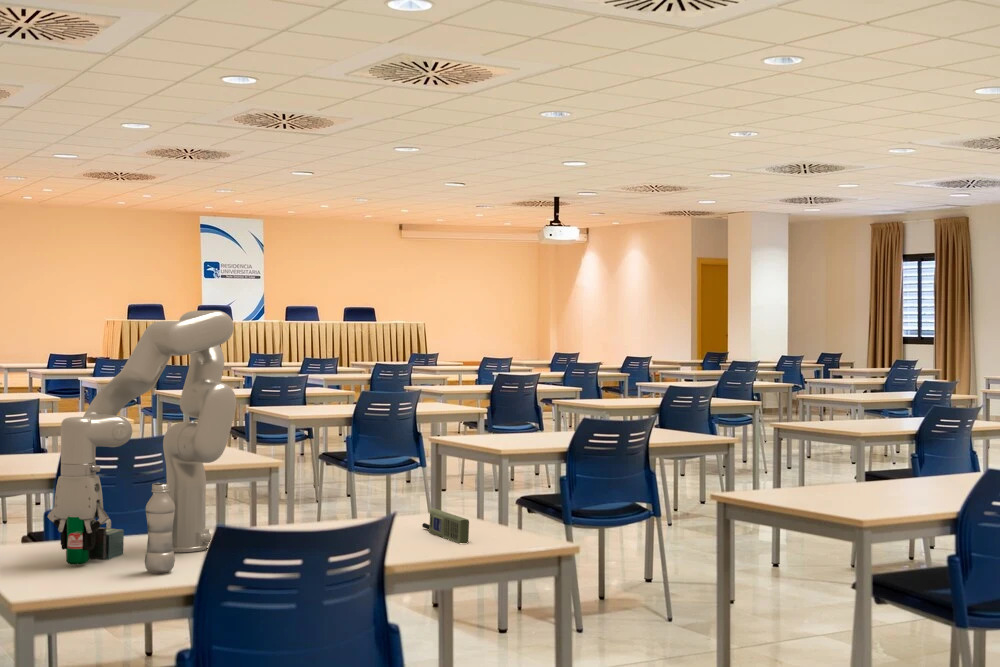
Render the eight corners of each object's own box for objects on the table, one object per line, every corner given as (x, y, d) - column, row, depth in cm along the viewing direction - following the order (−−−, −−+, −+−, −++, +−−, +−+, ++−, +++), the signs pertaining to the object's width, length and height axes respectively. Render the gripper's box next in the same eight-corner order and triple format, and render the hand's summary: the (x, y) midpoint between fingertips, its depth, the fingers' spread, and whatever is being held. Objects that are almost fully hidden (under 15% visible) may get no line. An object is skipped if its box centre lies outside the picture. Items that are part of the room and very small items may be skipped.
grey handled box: (103, 559, 262) (103, 526, 262) (71, 557, 263) (72, 524, 263) (124, 551, 272) (124, 519, 272) (93, 550, 273) (94, 518, 273)
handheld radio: (458, 545, 288) (418, 530, 310) (469, 544, 290) (429, 529, 312) (459, 519, 289) (419, 506, 310) (471, 519, 290) (430, 505, 312)
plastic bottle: (163, 568, 256) (164, 481, 256) (180, 572, 252) (181, 483, 252) (138, 572, 251) (139, 484, 251) (155, 577, 247) (156, 486, 247)
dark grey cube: (108, 559, 265) (108, 534, 265) (81, 558, 267) (81, 533, 267) (123, 554, 272) (123, 529, 272) (96, 553, 273) (97, 528, 273)
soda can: (64, 565, 255) (65, 513, 255) (67, 561, 260) (67, 509, 260) (88, 564, 256) (88, 512, 256) (90, 560, 261) (90, 509, 261)
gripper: (120, 469, 260) (120, 547, 260) (53, 467, 263) (53, 544, 263) (103, 473, 253) (103, 553, 253) (35, 471, 256) (34, 550, 256)
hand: (77, 548), depth 258 cm, fingers closed on soda can, 5 cm apart
